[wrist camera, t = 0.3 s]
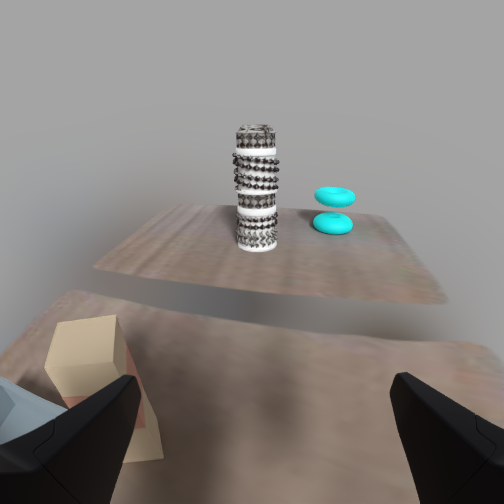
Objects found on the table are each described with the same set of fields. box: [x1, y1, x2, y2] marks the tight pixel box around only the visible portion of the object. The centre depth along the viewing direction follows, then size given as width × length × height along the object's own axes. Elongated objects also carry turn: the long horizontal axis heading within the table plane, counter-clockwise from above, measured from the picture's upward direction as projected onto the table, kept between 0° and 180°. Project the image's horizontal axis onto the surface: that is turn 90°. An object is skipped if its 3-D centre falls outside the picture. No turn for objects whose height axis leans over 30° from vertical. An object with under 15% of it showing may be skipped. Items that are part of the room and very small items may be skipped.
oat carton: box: [44, 315, 164, 463], centre depth 18 cm, size 5×5×13 cm
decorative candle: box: [233, 125, 279, 252], centre depth 58 cm, size 9×9×25 cm
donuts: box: [313, 187, 355, 235], centre depth 69 cm, size 10×10×10 cm
